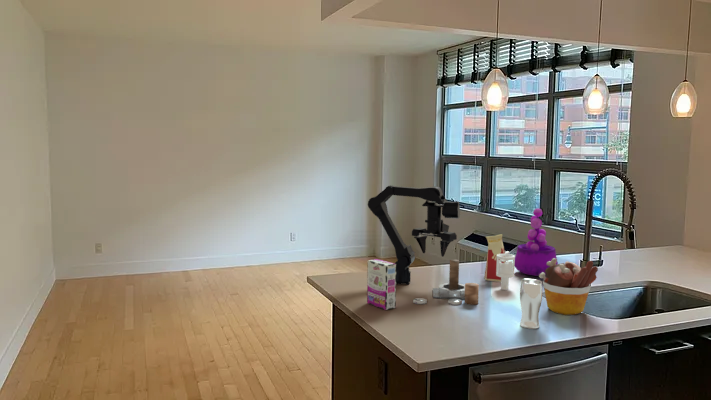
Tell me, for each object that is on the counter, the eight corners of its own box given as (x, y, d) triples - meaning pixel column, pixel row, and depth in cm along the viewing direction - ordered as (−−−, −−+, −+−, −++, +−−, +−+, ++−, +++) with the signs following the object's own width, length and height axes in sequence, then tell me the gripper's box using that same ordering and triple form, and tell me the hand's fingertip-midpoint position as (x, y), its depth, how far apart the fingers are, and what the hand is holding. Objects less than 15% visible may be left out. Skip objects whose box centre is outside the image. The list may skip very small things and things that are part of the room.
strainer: (515, 287, 229) (516, 252, 227) (511, 292, 223) (512, 255, 221) (498, 285, 232) (499, 250, 230) (493, 289, 226) (494, 253, 224)
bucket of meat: (528, 306, 204) (530, 253, 202) (559, 300, 212) (561, 248, 210) (574, 322, 187) (577, 264, 184) (606, 314, 195) (609, 259, 193)
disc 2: (448, 305, 206) (448, 302, 206) (447, 301, 211) (448, 298, 211) (462, 306, 206) (462, 302, 205) (461, 302, 210) (461, 298, 210)
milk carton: (506, 277, 246) (507, 232, 244) (504, 282, 238) (506, 236, 235) (485, 275, 249) (486, 231, 247) (482, 280, 240) (484, 234, 238)
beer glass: (515, 322, 187) (517, 278, 185) (535, 322, 187) (537, 278, 186) (523, 329, 180) (525, 284, 178) (544, 329, 181) (546, 283, 179)
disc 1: (413, 305, 207) (413, 301, 206) (413, 301, 212) (413, 297, 211) (426, 305, 206) (426, 302, 206) (426, 301, 211) (426, 298, 211)
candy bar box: (396, 308, 202) (397, 263, 200) (386, 310, 199) (386, 265, 197) (376, 300, 210) (377, 258, 209) (366, 303, 207) (366, 259, 206)
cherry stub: (464, 304, 206) (465, 286, 205) (464, 300, 211) (464, 282, 210) (478, 305, 206) (479, 286, 205) (477, 301, 211) (478, 283, 210)
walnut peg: (452, 294, 217) (453, 261, 215) (447, 292, 220) (447, 259, 218) (460, 293, 218) (460, 261, 216) (455, 291, 221) (455, 259, 220)
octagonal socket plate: (433, 298, 214) (433, 290, 214) (432, 289, 226) (432, 282, 226) (475, 299, 212) (476, 291, 212) (473, 291, 224) (473, 283, 224)
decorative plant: (560, 280, 240) (564, 211, 237) (516, 278, 243) (518, 210, 240) (553, 270, 259) (556, 206, 255) (511, 268, 262) (514, 205, 258)
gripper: (464, 217, 228) (463, 255, 230) (426, 213, 241) (425, 248, 242) (449, 220, 220) (448, 259, 222) (411, 215, 232) (410, 252, 234)
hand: (433, 254), depth 230 cm, fingers open, 9 cm apart
